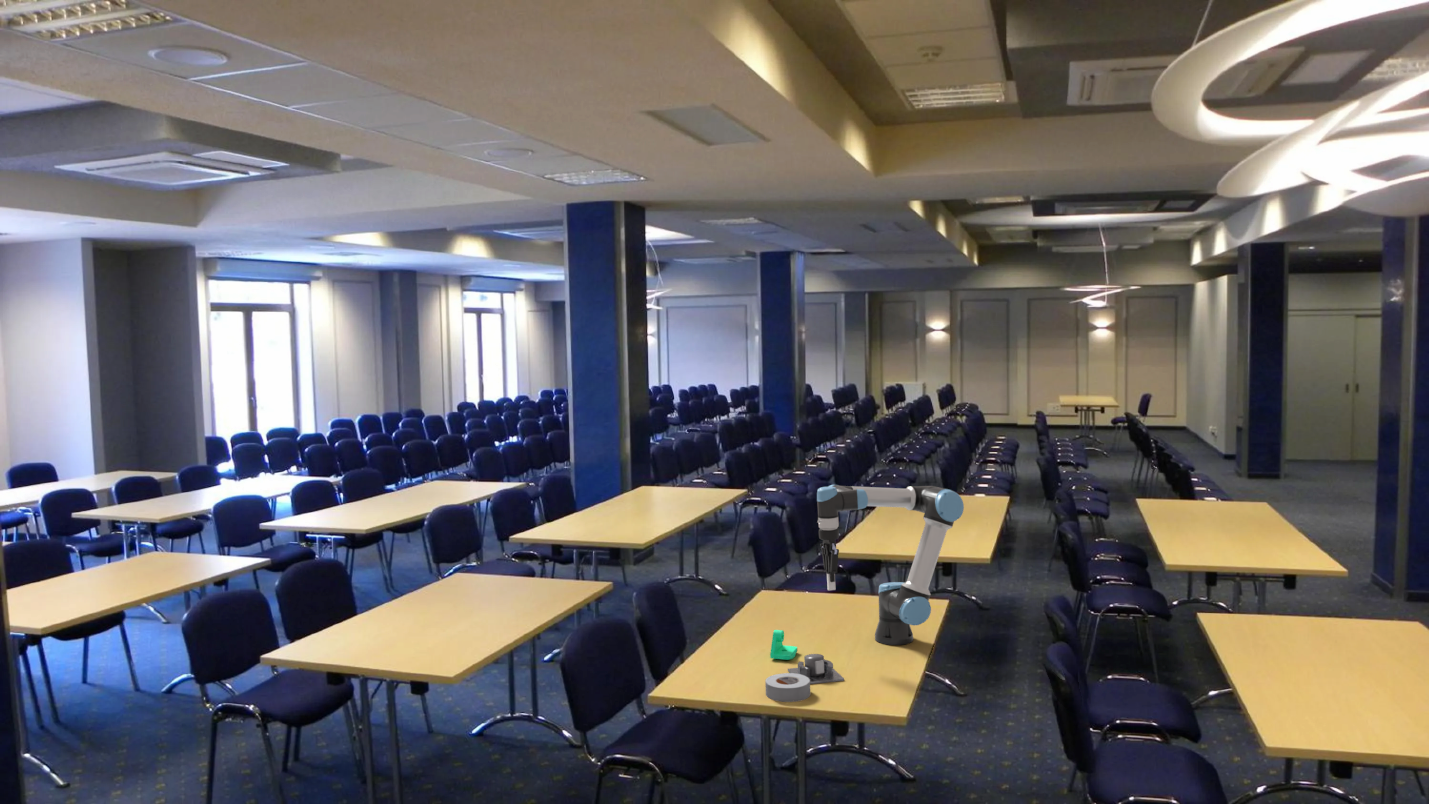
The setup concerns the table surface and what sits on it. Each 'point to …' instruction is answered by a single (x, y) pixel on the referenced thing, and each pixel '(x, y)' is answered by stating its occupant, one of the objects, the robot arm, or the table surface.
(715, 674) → the table surface
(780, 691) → the tape roll
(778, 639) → the camera mount
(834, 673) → the ball joint plate
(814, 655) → the cap
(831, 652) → the table surface
